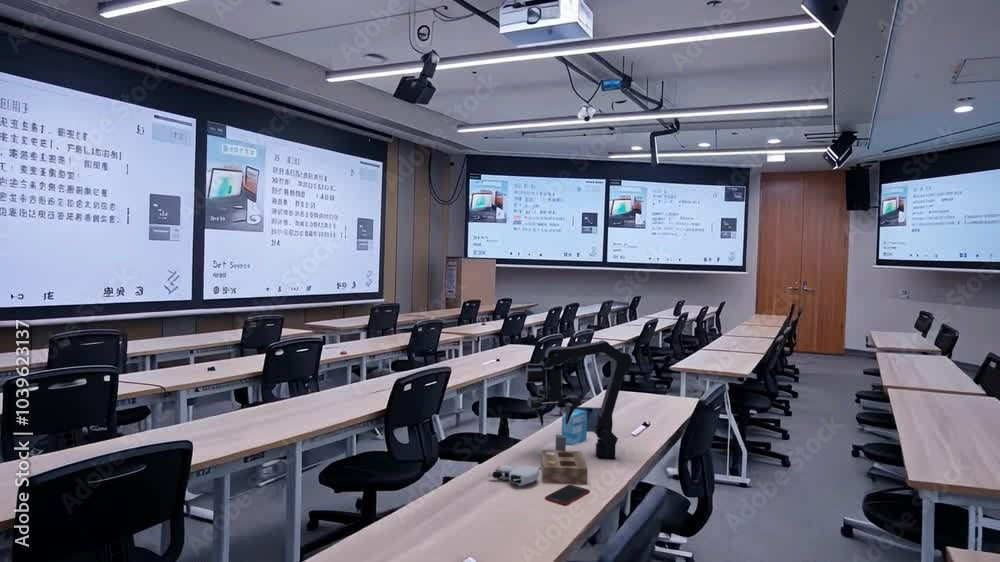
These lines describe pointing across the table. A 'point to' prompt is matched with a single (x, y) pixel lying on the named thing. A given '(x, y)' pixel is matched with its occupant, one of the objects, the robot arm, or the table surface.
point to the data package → (575, 427)
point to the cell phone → (567, 495)
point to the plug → (560, 443)
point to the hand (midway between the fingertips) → (554, 425)
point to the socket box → (563, 467)
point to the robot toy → (516, 474)
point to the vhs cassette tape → (589, 415)
